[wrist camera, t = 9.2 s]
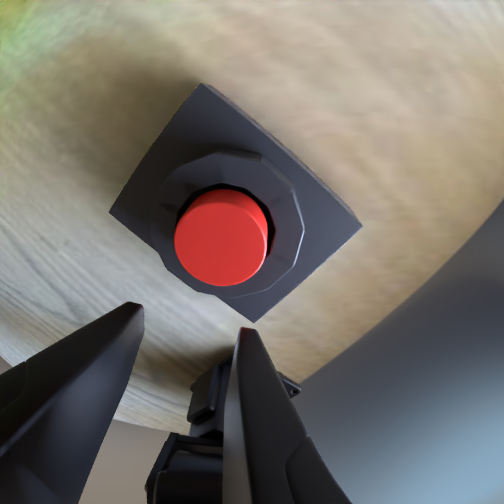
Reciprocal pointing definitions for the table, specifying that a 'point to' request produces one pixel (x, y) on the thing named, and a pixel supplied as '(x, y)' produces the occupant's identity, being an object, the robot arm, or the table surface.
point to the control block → (239, 179)
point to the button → (222, 237)
